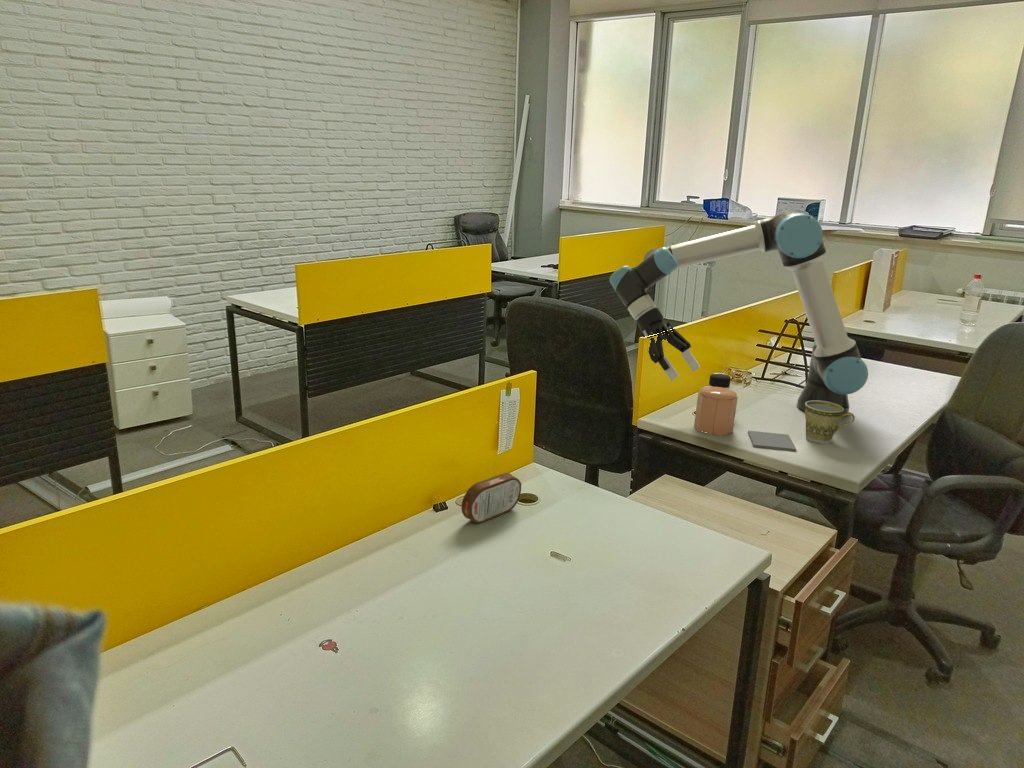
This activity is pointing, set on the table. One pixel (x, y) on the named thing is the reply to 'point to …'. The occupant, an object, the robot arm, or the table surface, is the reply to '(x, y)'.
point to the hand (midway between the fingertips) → (686, 374)
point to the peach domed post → (715, 410)
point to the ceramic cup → (823, 420)
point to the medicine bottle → (719, 380)
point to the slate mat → (771, 440)
